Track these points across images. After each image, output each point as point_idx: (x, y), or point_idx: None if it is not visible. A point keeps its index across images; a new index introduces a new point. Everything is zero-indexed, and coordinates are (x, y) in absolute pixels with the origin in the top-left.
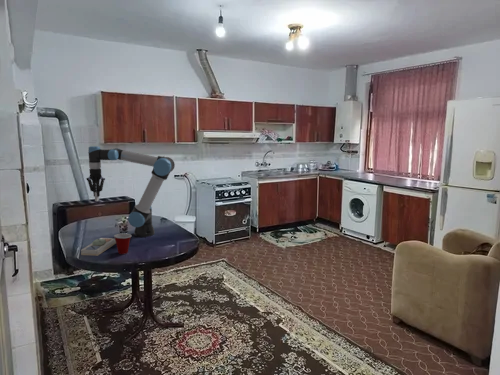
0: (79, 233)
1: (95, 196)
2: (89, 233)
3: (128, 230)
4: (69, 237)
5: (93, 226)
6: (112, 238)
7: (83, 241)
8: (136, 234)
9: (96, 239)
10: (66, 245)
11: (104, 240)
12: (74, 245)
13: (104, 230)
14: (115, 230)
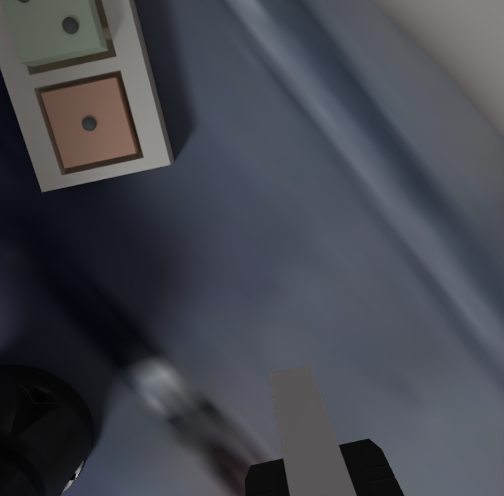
0: (475, 284)
1: (313, 436)
2: (405, 309)
3: (189, 457)
4: (483, 181)
5: (485, 445)
6: (69, 185)
7: (318, 137)
8: (24, 375)
9: (92, 29)
10: (375, 7)
11: (15, 41)
12: (316, 29)
13: (350, 400)
14: (276, 426)
